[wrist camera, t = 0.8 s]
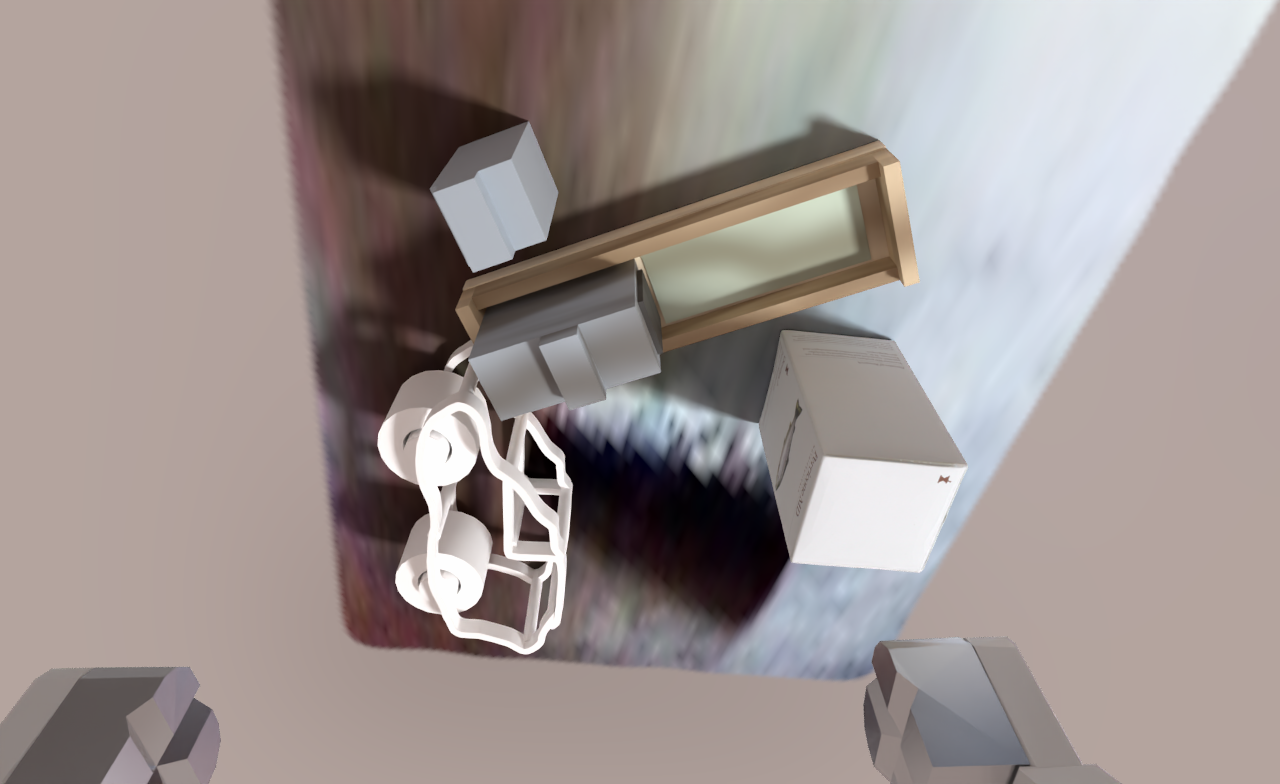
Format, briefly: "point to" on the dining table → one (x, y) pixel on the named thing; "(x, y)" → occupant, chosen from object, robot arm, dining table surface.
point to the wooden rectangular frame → (686, 280)
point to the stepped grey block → (497, 196)
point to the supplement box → (856, 454)
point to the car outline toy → (454, 541)
